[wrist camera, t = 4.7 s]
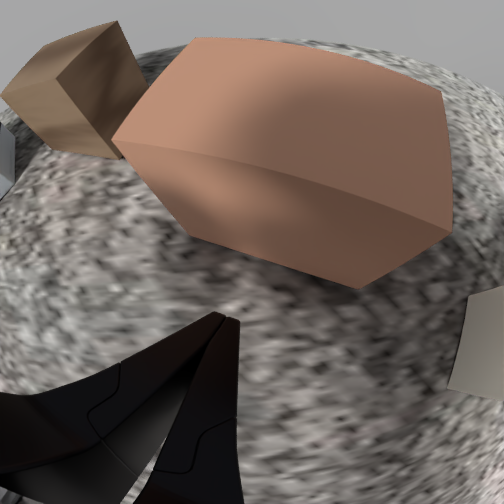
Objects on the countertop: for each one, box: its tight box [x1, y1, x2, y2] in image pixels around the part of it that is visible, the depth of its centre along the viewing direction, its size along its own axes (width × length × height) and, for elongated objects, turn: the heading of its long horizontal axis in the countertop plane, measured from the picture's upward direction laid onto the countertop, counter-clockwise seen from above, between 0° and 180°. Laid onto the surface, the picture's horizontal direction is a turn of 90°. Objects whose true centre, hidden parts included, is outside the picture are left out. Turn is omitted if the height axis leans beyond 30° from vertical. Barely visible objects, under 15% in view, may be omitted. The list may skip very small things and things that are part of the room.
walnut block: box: [0, 21, 149, 160], centre depth 15 cm, size 6×10×9 cm, turn 70°
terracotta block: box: [111, 38, 453, 290], centre depth 11 cm, size 6×10×9 cm, turn 70°
